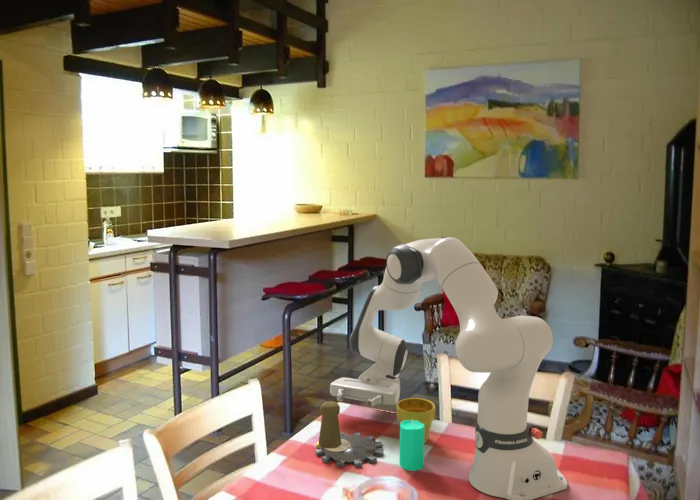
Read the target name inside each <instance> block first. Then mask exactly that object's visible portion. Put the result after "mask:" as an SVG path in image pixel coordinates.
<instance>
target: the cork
mask: <svg viewBox="0 0 700 500" xmlns="http://www.w3.org/2000/svg"><path fill="white" fill-rule="evenodd" d="M340 411H341V406H340V405H339V403H338V402H336V401H334V400H332V401H331V400H328V401H324V402H323V403H321V405H320V408H319V412H320V415H321V422H320V432H319V436H318V442H319V445H320V446H321V447H323V448H336V447H339V446H340V445H341V436H340V433H341V430H340V421H339V414H340Z"/></svg>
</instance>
